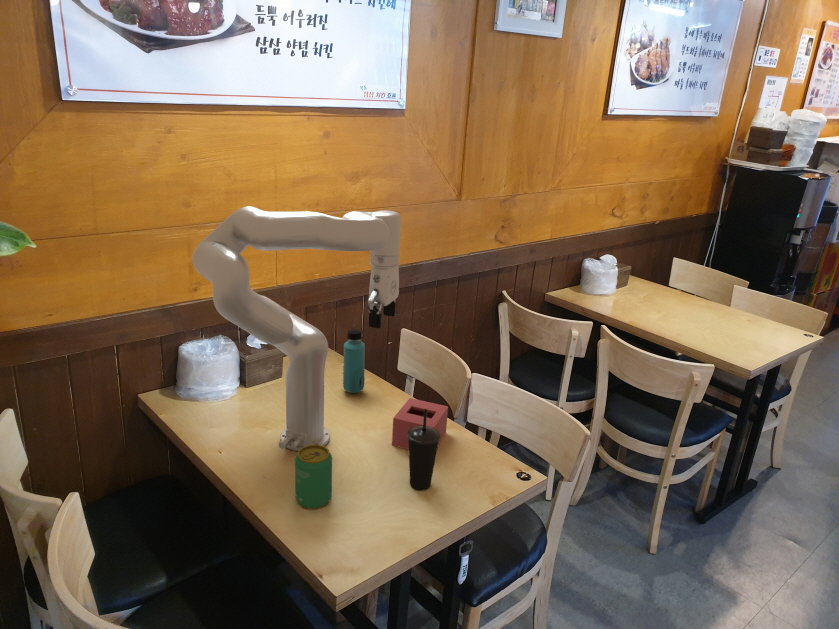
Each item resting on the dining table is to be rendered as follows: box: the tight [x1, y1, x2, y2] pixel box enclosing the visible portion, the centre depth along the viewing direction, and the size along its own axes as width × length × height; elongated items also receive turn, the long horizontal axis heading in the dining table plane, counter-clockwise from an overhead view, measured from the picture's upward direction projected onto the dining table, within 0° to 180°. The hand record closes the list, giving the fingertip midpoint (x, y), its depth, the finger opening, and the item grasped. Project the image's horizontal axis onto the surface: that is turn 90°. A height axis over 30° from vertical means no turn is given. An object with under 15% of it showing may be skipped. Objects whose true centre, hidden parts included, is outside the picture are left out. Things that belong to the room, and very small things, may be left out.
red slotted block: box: [391, 397, 449, 450], centre depth 164 cm, size 12×11×8 cm
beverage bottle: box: [342, 328, 366, 394], centre depth 184 cm, size 6×7×20 cm
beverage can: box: [294, 445, 333, 510], centre depth 137 cm, size 8×8×12 cm
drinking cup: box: [407, 409, 441, 492], centre depth 143 cm, size 8×8×20 cm
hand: (382, 321), depth 166 cm, fingers open, 9 cm apart
